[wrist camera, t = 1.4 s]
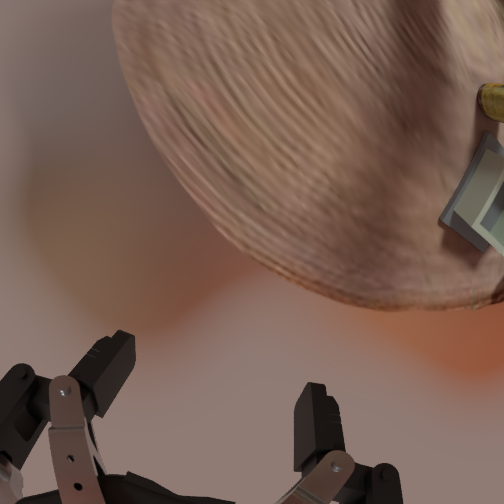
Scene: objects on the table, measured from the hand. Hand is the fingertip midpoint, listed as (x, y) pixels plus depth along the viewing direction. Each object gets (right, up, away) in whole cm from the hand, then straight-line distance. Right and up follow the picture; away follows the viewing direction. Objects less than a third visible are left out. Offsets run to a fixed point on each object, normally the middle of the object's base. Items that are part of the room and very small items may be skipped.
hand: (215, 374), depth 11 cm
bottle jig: (+42, +15, +21) cm, 49 cm away
